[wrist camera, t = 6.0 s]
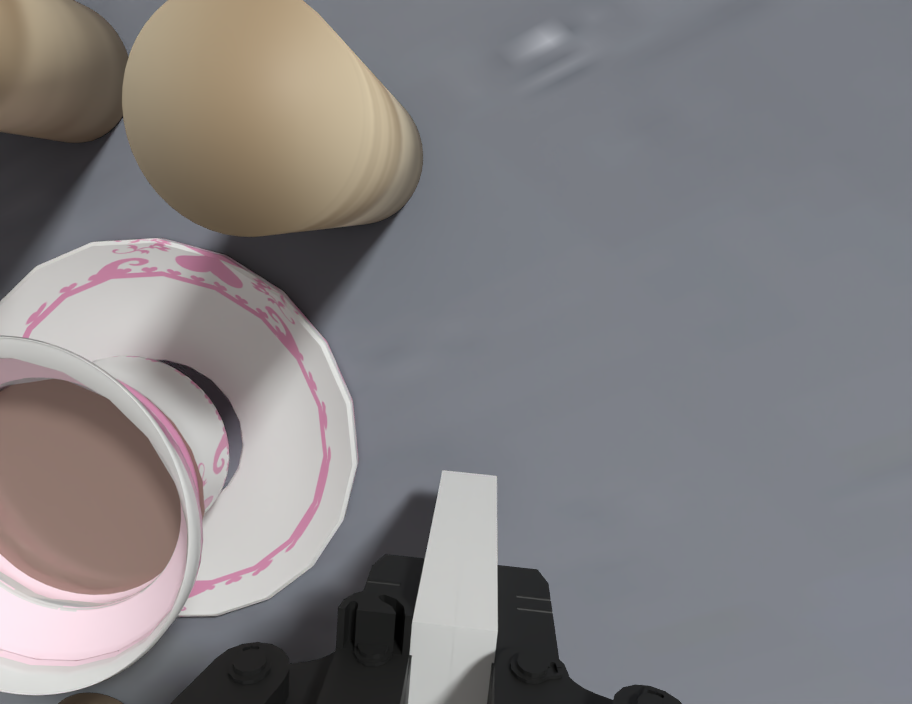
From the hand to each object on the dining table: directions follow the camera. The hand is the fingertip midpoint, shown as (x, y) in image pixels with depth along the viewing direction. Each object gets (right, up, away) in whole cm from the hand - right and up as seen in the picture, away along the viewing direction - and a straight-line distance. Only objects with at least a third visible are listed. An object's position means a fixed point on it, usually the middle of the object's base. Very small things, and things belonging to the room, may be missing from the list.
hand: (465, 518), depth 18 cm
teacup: (-9, +2, +2) cm, 10 cm away
